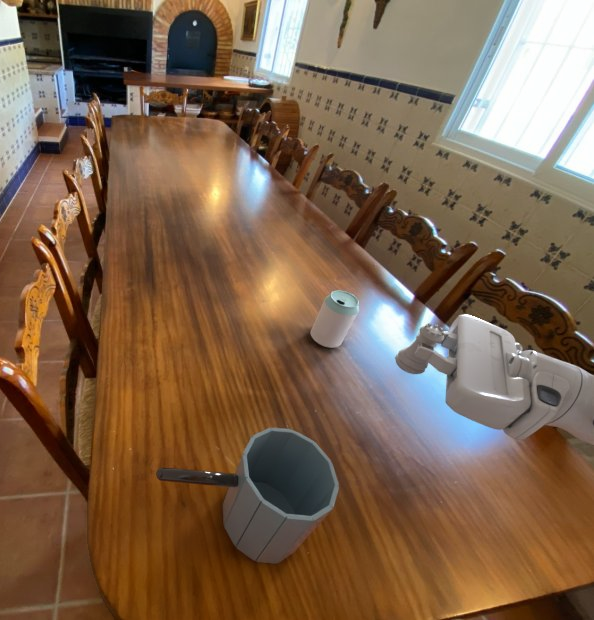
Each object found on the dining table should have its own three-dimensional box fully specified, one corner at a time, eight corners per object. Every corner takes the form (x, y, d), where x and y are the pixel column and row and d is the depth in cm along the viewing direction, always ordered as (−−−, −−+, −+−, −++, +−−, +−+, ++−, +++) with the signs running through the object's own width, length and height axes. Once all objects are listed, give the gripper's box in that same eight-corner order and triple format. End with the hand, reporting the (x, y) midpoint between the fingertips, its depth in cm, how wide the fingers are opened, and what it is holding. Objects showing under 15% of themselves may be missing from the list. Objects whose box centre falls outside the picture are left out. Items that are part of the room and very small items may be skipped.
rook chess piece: (400, 351, 60) (425, 315, 55) (428, 367, 58) (457, 331, 52) (388, 362, 58) (413, 326, 53) (416, 380, 55) (445, 343, 50)
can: (343, 352, 80) (366, 311, 72) (311, 346, 81) (330, 305, 73) (337, 331, 85) (358, 291, 78) (307, 326, 86) (325, 285, 78)
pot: (290, 483, 56) (323, 432, 47) (306, 566, 48) (351, 524, 38) (156, 471, 56) (161, 417, 47) (149, 552, 48) (153, 506, 38)
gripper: (534, 326, 54) (433, 292, 60) (558, 422, 41) (424, 367, 46) (507, 355, 58) (414, 320, 64) (520, 451, 45) (400, 397, 50)
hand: (418, 340), depth 55 cm, fingers closed on rook chess piece, 3 cm apart
